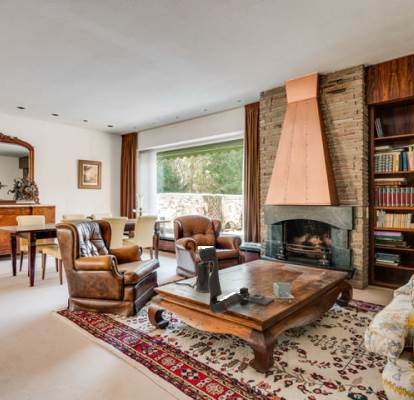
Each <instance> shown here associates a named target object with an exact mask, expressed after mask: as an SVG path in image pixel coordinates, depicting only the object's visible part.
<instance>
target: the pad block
mask: <svg viewBox="0 0 414 400" xmlns="http://www.w3.org/2000/svg"><path fill="white" fill-rule="evenodd" d="M239 292H240V294H246V293H249V288H248V287H244V286H243V287H241V288H239ZM247 304H249V302H248V301H246V300H245V299H244V300H242V301H241V303H240V304H239V305H242V306H245V305H247Z"/></svg>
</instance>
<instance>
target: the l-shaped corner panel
mask: <svg viewBox="0 0 414 400" xmlns="http://www.w3.org/2000/svg"><path fill="white" fill-rule="evenodd" d="M273 294H274V295H275V296H276V297H277V298H278V299H296V297H295V296H293V294H292V293H291V283H290V282H273Z"/></svg>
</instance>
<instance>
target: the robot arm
mask: <svg viewBox="0 0 414 400" xmlns="http://www.w3.org/2000/svg"><path fill="white" fill-rule="evenodd" d="M195 257H196V259H198V260H200V262H199V263H197V277H196V281H195V283H194V284H193V285H191V284H189V283H185V282H184V283H181V282H180V283H179V282H177V281H176V280H173V281H172V282H173V283H175V284H176V285H186V286H189V287H191V288H195V287H196V288H195V289H196V291H197V292H200V293H208V292H209V304H208V305H209V310H210V312H211V313H212V314H213V315H214V314H215V315H216V314H223V313H226V312H228V310H229V309H231V308H234V307H236V306H238V305H241V304H240V303H241V301H242V300H244V299H245V300H246V301H248V300H249V296H250V292H248V293H246V294H240V291H239V292H238V291H234V292H230V293H229V294H227V295H226V296H224V297H222V298H221V299H218V298H219V297H220V296H222V295H223V292H222V291H223V290H222V288H221V287H222V285H221V282H220V273H219V272H220V271H219V260H218V252H217V249H216V247H215V246H197V247H196V248H195ZM211 262H212V269H210V268H211ZM210 270H211V271H210ZM171 323H173V313H171V312H170V324H171Z"/></svg>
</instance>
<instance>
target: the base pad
mask: <svg viewBox="0 0 414 400" xmlns="http://www.w3.org/2000/svg"><path fill="white" fill-rule="evenodd" d="M249 293H250V292H249ZM274 301H275V298H272V297H269V296H265V294H260V293H250V296H249V300H248V303H250V304H254V305H258V306H262V307H266V306H268V305H269V304H271V303H273V302H274Z"/></svg>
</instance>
